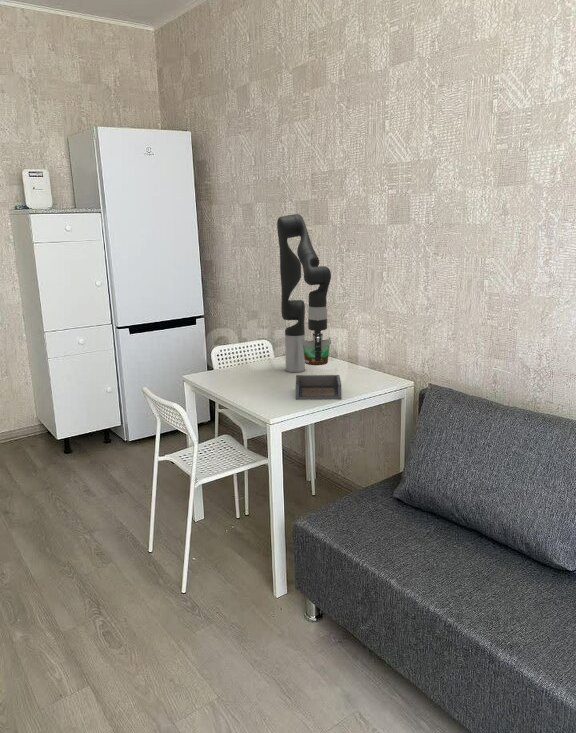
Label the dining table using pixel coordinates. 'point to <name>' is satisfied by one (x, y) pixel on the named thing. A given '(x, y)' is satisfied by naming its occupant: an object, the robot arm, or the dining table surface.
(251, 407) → the dining table surface
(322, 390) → the keeper cradle
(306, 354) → the food container
